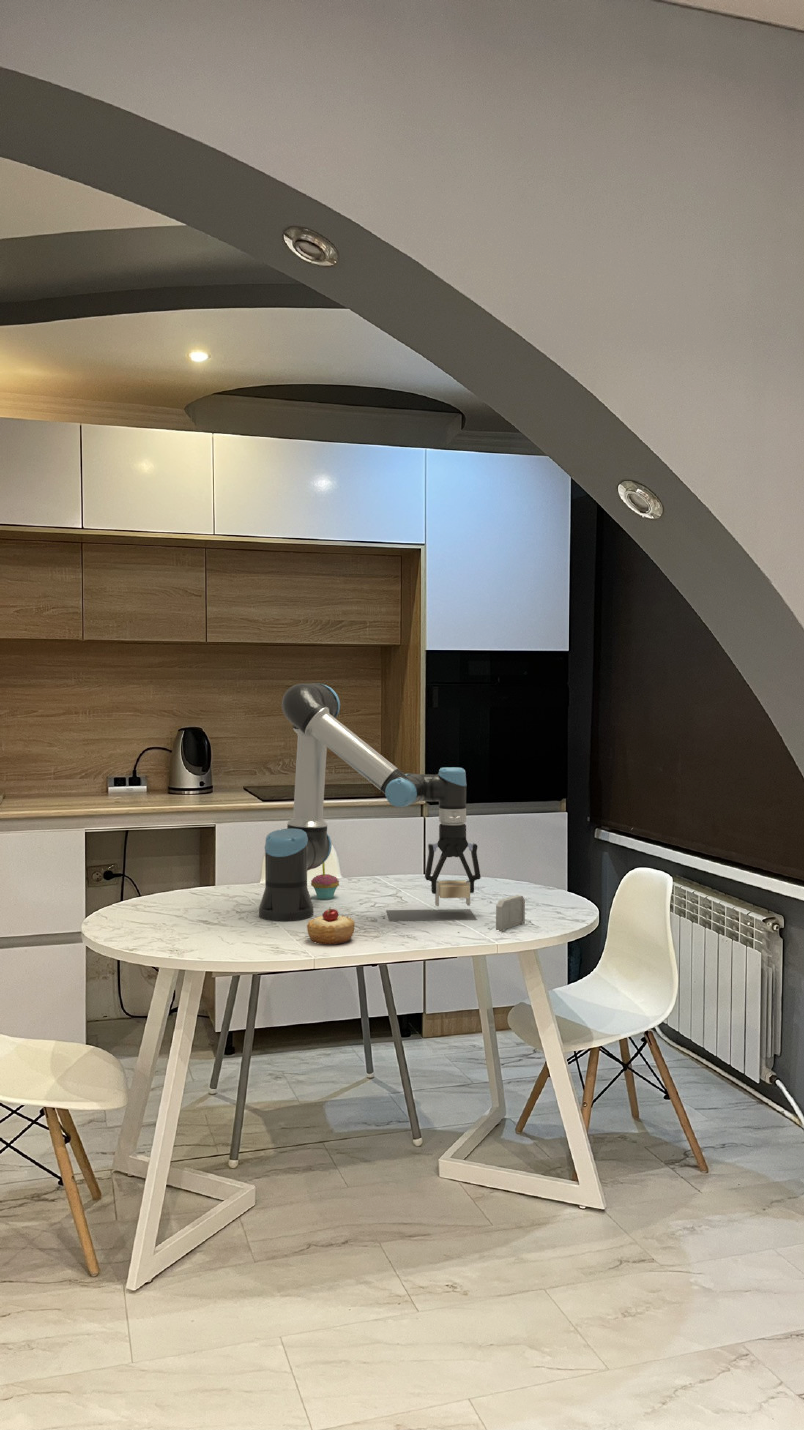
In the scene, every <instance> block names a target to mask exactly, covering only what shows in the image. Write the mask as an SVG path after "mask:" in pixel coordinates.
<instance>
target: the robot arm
mask: <svg viewBox="0 0 804 1430" xmlns="http://www.w3.org/2000/svg"><path fill="white" fill-rule="evenodd" d="M340 709H341V701H340V697H339V696H338V694H337V693H336V691H335V690H334V689H333V688H332V687H330V686H328V685H326V684H323V683H318V682H317V683H315V682H314V683H298V684H294V685H292V686H291V687H289V688H288V689H287V690H286V691H285V693H284V694H283V697H282V700H281V711H282V712H283V715H284V716H285V718H286V719H287V720H288V721H289V722H290V723H291V724H292V730H293V731H294V732H295V733H296V735H297V743H296V744H297V745H296V748H297V749H296V763H295V781H294V795H293V799H294V800H293V812H292V813H293V816H292V818H291V819H289V820H288V821H287V826H286V827H287V828H282V829H277V830H273V831H271V832H269V833H268V834H267V835H266V838H265V844H264V854H265V855H264V856H265V857H264V858H265V859H264V861H265V863H264V864H265V865H264V868H265V869H264V870H265V871H264V874H265V876H264V877H265V878H264V880H265V882H264V883H265V885H264V886H265V887H264V891H263V895H262V898H261V901H260V904H259V906H258V907H259V908H258V917H260V918H261V919H265V920H269V921H271V920H272V921H278V922H279V921H281V922H282V921H283V922H284V921H285V922H287V921H298V920H299V921H300V920H305V919H309V918H311V917H313V916H314V904H313V901H312V898H311V895H310V892H309V888H308V871H311V870H314V869H316V868H318V867H320V866H321V865H322V863H324V862H326V861H327V860H328V859H329V857H330V855H331V851H332V845H333V844H332V840H331V837H330V835H329V834H328V823H327V822H326V821H325V819H324V817H323V816H324V815H323V814H324V802H325V801H324V800H325V797H324V796H325V782H326V768H327V767H326V765H327V752H328V751H327V750H330V751H331V752H332V753H333V754H335V755H336V756H337V757H339V758H340V759H341V760H342V761H344V762H345V763H346V764H347V765H349V766H350V767H351V768H352V769H353V770H355V771H356V772H357V773H359V774H360V775H361V776H362V777H363V778H365V779H366V780H367V781H368V782H370V783H371V785H372V784H373V786H374V787H376V788H377V789H378V790H379V791H380V792H382V793H383V794H384V795H385V797H386V800H387V802H388V803H389V804H390V805H392V806H394V807H397V808H404V807H405V808H406V807H409V806H410V805H412V804H416V803H418V802H438V822H439V823H440V824H439V825H438V841H437V842H436V843H428V844H427V848H428V855H427V863H426V867H425V873H424V878H425V880H426V881H428V882H430V883H431V885H430V887H431V889H430V890H431V893H432V895H433V894H434V900H435V901H434V903H435V907H440V896H439V882H438V881H439V880H438V878H439V876H440V873H441V871H442V869H443V866H444V864H445V862H446V860H447V859H448V858H459V860H460V862H461V865H462V867H463V869H464V871H465V873H466V875H467V878H468V880H465V881H466V883H467V884H468V885H469V886H470V894H474V893H475V882H476V881H478V880H480V879H482V877H481V871H480V870H481V869H480V864H479V860H478V854H477V851H478V847H479V846H478V844H477V843H475V842H473V843H470V842H468V841H467V825H466V822H467V777H466V776H467V774H466V770H465V769H464V768H463V767H454V766H453V767H450V766H449V767H447V766H446V767H440V769H439V770H438V773H437V774H423V773H421V774H419V773H412V772H411V773H404V772H402V771H401V770H400V769H399V768H398V767H397V766H395V765H394V764H393V763H392V762H390V761H389V760H388V759H386V758H385V757H384V756H383V755H382V754H380V753H379V752H378V751H377V750H375V749H374V748H373V747H372V746H370V745H369V743H367V742H365V741H364V740H363V739H361V738H360V737H359V736H358V735H357V734H356V733H355V732H353V731H351V729H349V728H348V727H347V726H345V725H344V724H343V723H341V721H339V720H338V719H337V717H338V715H339V714H340ZM438 848H439V851H440V852H441V854H440V855H439V860H438V861H437V864H436V866H435V868H434V870H433V865H434V864H433V863H434V857H435V852H437V849H438ZM467 848H468V850H469V851H470V855H471V859H472V867H473V871H474V874H473V873H472V871H471V869H470V867H469V863H468V861H467V860H466V857H465V854H464V852H465V851H466V849H467ZM432 870H433V874H432ZM431 874H432V875H431ZM465 904H466V906H469V907H470V906H471V897H470V898H465Z"/></svg>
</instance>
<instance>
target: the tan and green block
mask: <svg viewBox="0 0 804 1430" xmlns="http://www.w3.org/2000/svg"><path fill="white" fill-rule="evenodd" d="M437 881H438V882H439V899H462V898H463V899H466V898H470V899H471V893H470V886H469V885H468V884H467V883H466V881H467V880H465V879H464V880H463V879H455V880H454V879H451V880H446V879H445V880H444V879H443V880H437Z"/></svg>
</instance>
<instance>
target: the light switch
mask: <svg viewBox="0 0 804 1430" xmlns="http://www.w3.org/2000/svg"><path fill="white" fill-rule="evenodd" d="M525 922H526V899H525V897H524V896H523V895H522V894H521V895H519V894H515V895H512V896H508V897H506V898H503V899H499V900H498V902H497V904H496V906H495V931H496V930H499V931H498V932H504V931H505V930H506V928H508V929H510V927H511V928H513V927H516V926H519V925H524V924H526V923H525ZM512 926H513V927H512ZM504 929H505V930H504ZM503 930H504V931H503Z"/></svg>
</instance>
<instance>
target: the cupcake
mask: <svg viewBox="0 0 804 1430" xmlns="http://www.w3.org/2000/svg"><path fill="white" fill-rule="evenodd" d="M325 862H326V861H325ZM325 862H324V863H322V864H321V865H322V874H318V875H315V876H314V877H313V878H312V879H311V882H310V885H311V887H312V888H313V889H314V891H315V894H316V898H317V899H320V900H331V899H333V898H334V896H335V892H336V890H337V888H338V887H339V886H340V883H339V882H340V881H339V878H337V876H334V875H332V874H329V873H327V874H326V868H325V866H326V864H325Z"/></svg>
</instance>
